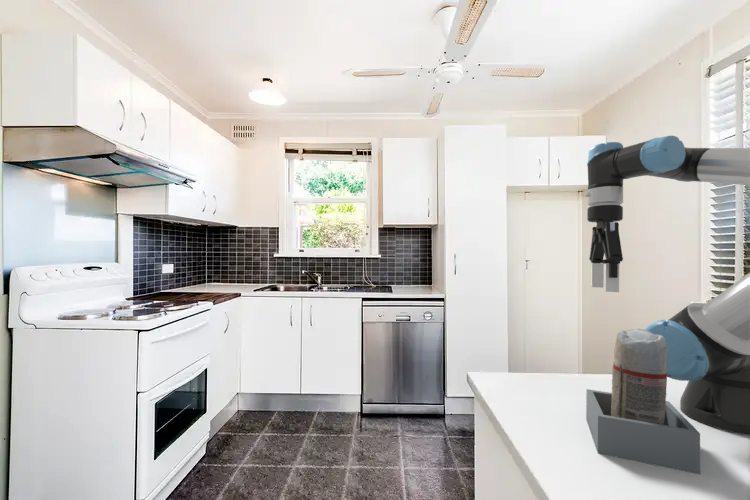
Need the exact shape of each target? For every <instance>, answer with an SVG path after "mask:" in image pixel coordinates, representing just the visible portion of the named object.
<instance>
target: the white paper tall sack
mask: <svg viewBox="0 0 750 500" xmlns="http://www.w3.org/2000/svg"><path fill="white" fill-rule="evenodd" d="M615 339H616V340H615V343H614V344H615V345H614V350H613V351H614V353H613V354H614V359H613V365H612V375H611V376H612V378H611V385H612V386H611V393H612V405H611V416H614V417H620V418H625V419H631V420H637V421H643V422H649V423H655V424H661V425H664V419H665V404H666V401H667V382H668V381H667V380H668V377H667V344H666V339H665V338H664V337H663V336H662V335H655V334H653V333H651V332H649V331H647V330H645V329H641V328H635V329H629V328H626V329H622V328H621V329H618V330H617V334H616V338H615Z"/></svg>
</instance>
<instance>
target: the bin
mask: <svg viewBox="0 0 750 500" xmlns="http://www.w3.org/2000/svg"><path fill="white" fill-rule="evenodd" d="M585 402H586V409H585V410H586V416H585V417H586V422H587V425H588V428H589V431H590V434H591V437H592V440H593V443H594V447H595V449H596V452H597V454H602V455H607V456H610V457H615V458H620V459H626V460H629V461H634V462H640V463H642V464H643V463H644V464H648V465H653V466H658V467H663V468H666V469H673V470H678V471H682V472H687V473H692V474H697V475H701V432H699V431H698V430H697V428H696V427H694V426H693V424H692V423H690V422H689V420H688V419H686V417H685V416H684V415H683V414H681V412H680V411H679V410H678V409H677V408H676V407H675V406H674V405H673V404H672V403H671V402H670V401H668V400H666V404H665V419H664V425H661V424H655V423H649V422H643V421H637V420H631V419H625V418H620V417H614V416H611V405H612V392H608V391H601V390H594V389H586V401H585Z"/></svg>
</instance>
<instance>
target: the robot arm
mask: <svg viewBox="0 0 750 500" xmlns="http://www.w3.org/2000/svg"><path fill="white" fill-rule="evenodd" d="M586 163H587V164H586V166H587V183H588V184H587V186H588V187H587V193H585V195H584V196H585V198H587V205H588V206H589V207H587V211H586V212H587V216H586V217H587V218H586V219H587V221H588V222H589V223H596V226H592V228H591V229H592V235H591V244H590V252H589V259H588V260H589V261H590V263H591V266H590V268H591V275H590V276H591V279H590V280H591V282H590V283H591V285H590V287H591V288H602V289H603V288H604V292H606V293H607V292H608V293H609V292H610V293H620V264H621V262H623V261H624V258H623V251H622V244H621V238H620V232H619V231H620V230H619V222H620V221H622V220H623V219H624V211H623V210H624V207H623V206H622V204H623V203H624V180H627V179H632V178H637V177H644V176H645V177H646V176H649V177H656V178H663V179H670V180H675V181H679V182H685V183H686V182H699V183H701V182H703V183H713V184H714V183H717V184H725V185H726V184H727V185H740V186H741V185H742V186H750V148H749V147H746V148H745V147H730V148H729V147H719V148H718V147H712V148H711V147H710V148H709V147H685V145H684V143H683V141H682V140H680V138H679V137H678V136H676V135H667V136H660V137H654V138H651V139H649V140H646V141H642V142H639V143H637V144H636V143H635V144H633V145H628V146H624V144H623V143H621V142H619V141H618V142H617V141H610V142H609V141H608V142H604V143H598V144H595V145H593V146H592V147H590V149H589V150H588V157H587V162H586ZM604 257H605V259H604ZM644 330H647V331H649V332H651V333H653V334H655V335H662V336H663V337H664V338H665V339H666V344H667V378H670V379H672V380H676V381H684V382H685V381H687V384H686V386H685V388H684V391H683V392H682V395H681V396H680V402H679V405H680V407H679V409H680V411H681V412H682V413H683V414H684V415H686V416H687V417H689V418H691V419H693V420H695V421H697V422H700V423H702V424H704V425H707V426H711V427H712V428H713V427H714V428H717V429H721V430H723V431H728V432H732V433H735V434H740V435H747V436H750V272H749V273H747V274H745V276H744V277H742V278H739V279H738V280H737V281H736V282H735V283H732V285H730V286H729V287H727V288H726V289H725V290H724V291H722V292H721V293H719V294H718V295H716V296H715V297H714V298H712V299H711V300H709V301H708V302H706V303H703V302H692V303H690V304H688V305H687V306H686V307H683V309H681V310H680V311H679V312H678V313H676V314H674V315H673V316H671V317H670V318H669V319H661V320H657V321H655V322H653V323H651V324H649V325H647V327H645V329H644Z"/></svg>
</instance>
